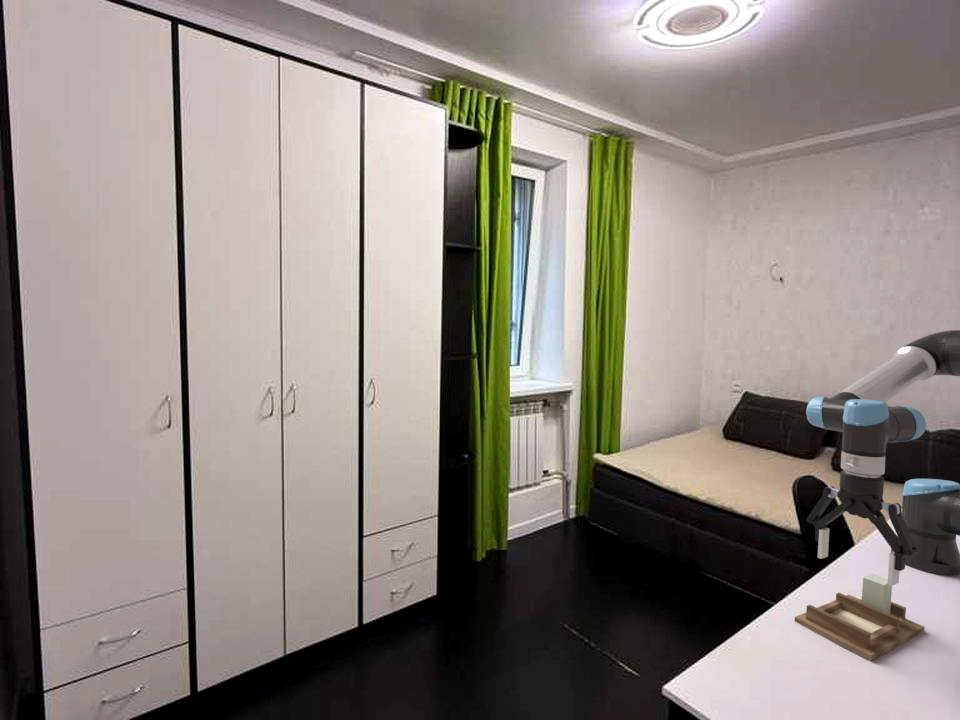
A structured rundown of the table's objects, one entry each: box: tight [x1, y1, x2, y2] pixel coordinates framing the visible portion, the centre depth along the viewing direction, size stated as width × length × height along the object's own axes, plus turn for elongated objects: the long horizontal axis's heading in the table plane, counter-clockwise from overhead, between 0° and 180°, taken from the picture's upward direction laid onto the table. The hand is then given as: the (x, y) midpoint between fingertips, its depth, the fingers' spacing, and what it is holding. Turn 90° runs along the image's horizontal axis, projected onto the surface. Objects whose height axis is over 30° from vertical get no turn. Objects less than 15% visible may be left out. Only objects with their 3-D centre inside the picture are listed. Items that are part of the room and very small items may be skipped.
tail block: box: [861, 573, 893, 614], centre depth 117 cm, size 4×4×8 cm
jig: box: [794, 592, 926, 662], centre depth 114 cm, size 22×15×4 cm
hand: (856, 569), depth 112 cm, fingers open, 13 cm apart
